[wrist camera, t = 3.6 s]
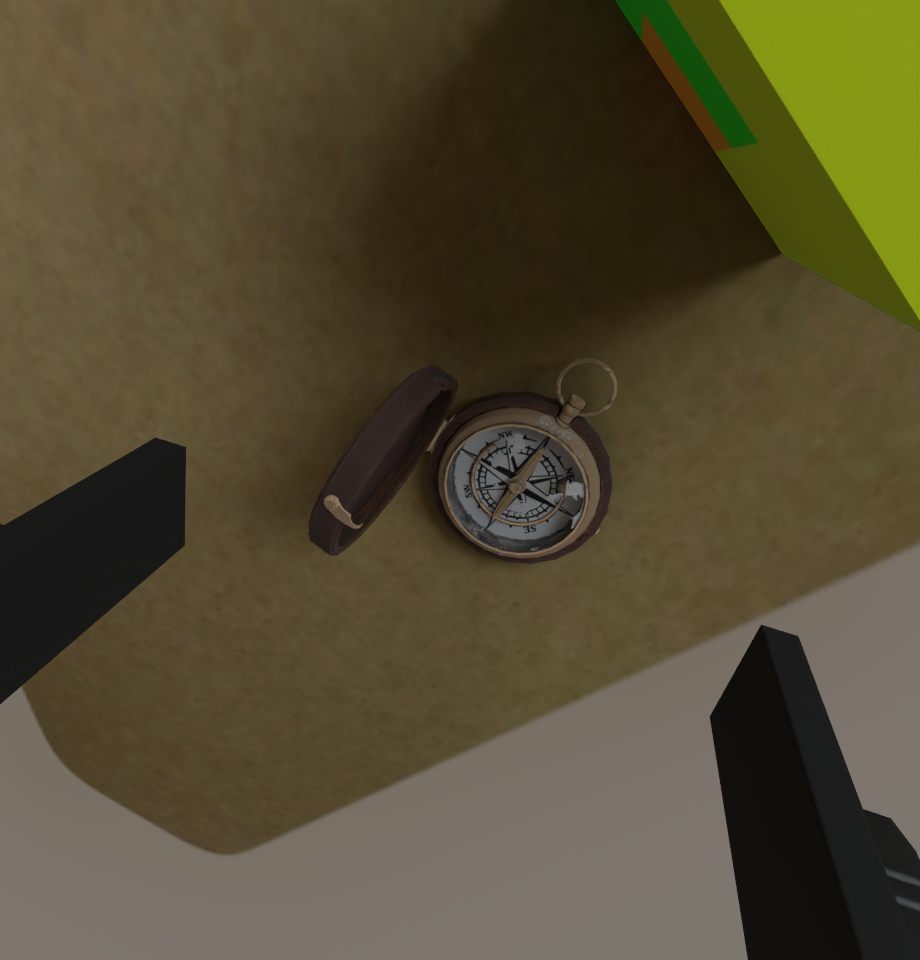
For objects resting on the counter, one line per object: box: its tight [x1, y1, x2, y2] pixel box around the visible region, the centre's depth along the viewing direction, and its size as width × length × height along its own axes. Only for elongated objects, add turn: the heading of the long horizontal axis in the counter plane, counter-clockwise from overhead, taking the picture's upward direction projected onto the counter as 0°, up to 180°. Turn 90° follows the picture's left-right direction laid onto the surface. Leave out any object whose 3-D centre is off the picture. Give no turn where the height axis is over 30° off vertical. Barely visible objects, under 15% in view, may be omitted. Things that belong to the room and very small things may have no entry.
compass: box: [308, 359, 618, 564], centre depth 19 cm, size 8×8×7 cm
